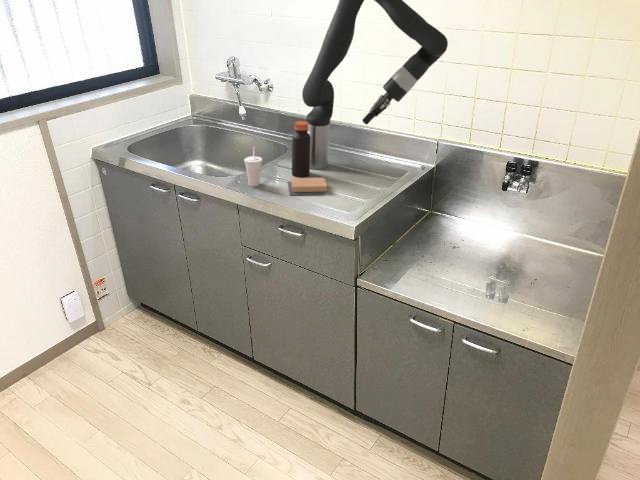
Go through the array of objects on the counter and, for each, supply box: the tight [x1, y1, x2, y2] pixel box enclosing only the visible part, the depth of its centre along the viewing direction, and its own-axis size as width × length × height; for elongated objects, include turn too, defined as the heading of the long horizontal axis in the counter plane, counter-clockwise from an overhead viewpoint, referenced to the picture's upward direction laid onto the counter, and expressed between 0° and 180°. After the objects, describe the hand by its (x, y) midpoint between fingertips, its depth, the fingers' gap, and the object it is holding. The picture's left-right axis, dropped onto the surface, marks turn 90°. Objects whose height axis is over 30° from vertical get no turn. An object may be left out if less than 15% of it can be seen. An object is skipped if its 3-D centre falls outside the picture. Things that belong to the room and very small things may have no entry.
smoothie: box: [243, 146, 263, 187], centre depth 190 cm, size 6×6×14 cm
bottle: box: [291, 120, 311, 178], centre depth 199 cm, size 7×7×20 cm
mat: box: [287, 181, 325, 197], centre depth 192 cm, size 12×12×1 cm
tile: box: [290, 177, 328, 193], centre depth 191 cm, size 2×8×12 cm
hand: (364, 122), depth 184 cm, fingers closed
